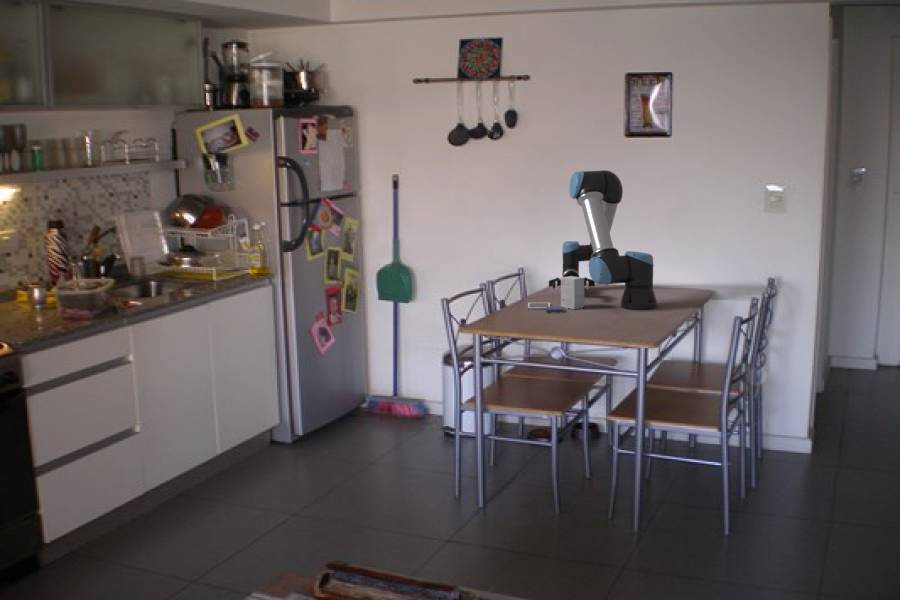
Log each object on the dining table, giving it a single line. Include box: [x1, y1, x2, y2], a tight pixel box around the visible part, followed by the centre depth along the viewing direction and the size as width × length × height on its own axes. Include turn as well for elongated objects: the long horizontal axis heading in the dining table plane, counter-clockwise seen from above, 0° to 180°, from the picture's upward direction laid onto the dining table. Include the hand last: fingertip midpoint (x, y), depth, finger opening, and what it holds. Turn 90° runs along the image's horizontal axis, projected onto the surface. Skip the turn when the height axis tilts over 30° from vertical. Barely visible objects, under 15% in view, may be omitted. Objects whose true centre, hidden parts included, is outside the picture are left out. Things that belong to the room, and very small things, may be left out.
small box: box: [560, 276, 585, 310], centre depth 415 cm, size 8×6×13 cm
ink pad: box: [546, 306, 565, 314], centre depth 409 cm, size 7×7×1 cm
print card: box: [527, 301, 551, 310], centre depth 419 cm, size 9×11×1 cm
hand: (572, 286), depth 424 cm, fingers open, 13 cm apart
